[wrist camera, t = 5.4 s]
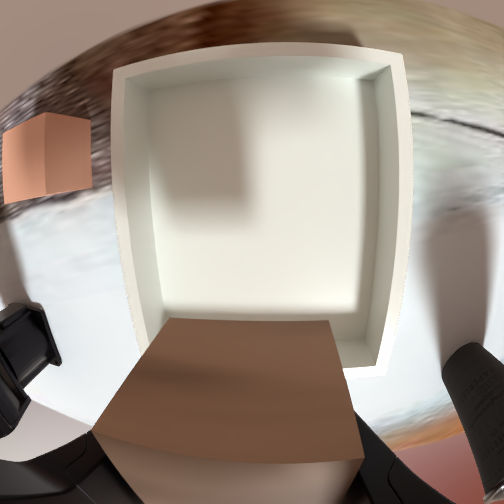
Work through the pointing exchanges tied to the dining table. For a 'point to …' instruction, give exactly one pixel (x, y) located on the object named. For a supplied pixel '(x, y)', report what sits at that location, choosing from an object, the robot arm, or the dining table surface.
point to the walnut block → (235, 416)
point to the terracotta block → (46, 157)
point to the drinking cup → (480, 411)
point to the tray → (266, 190)
